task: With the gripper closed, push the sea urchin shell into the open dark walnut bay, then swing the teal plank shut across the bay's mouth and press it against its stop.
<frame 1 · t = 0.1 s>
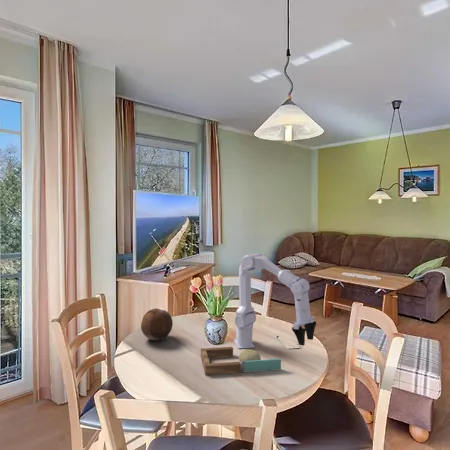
hand: (306, 342, 136), 10 cm above the table, tool pointing down, fingers open, 7 cm apart
smartphone: (288, 343, 161), on the table
wooden sphere: (156, 339, 160), on the table
bay: (221, 363, 137), on the table
teal plank: (260, 365, 132), point 2 cm above the table, hinge at -90.0°
sea urchin shell: (249, 362, 139), on the table
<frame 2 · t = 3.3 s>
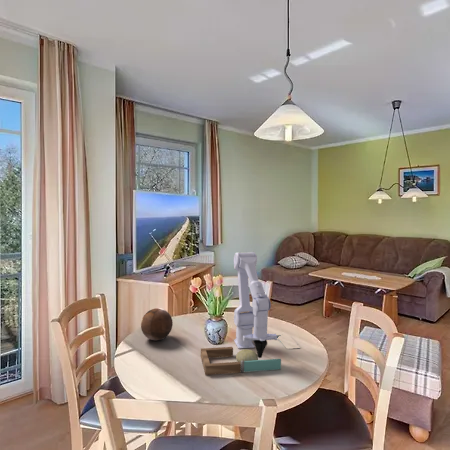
hand: (259, 356, 140), 2 cm above the table, tool pointing down, fingers closed
sea urchin shell: (247, 362, 139), on the table, touching gripper
everything else where it was.
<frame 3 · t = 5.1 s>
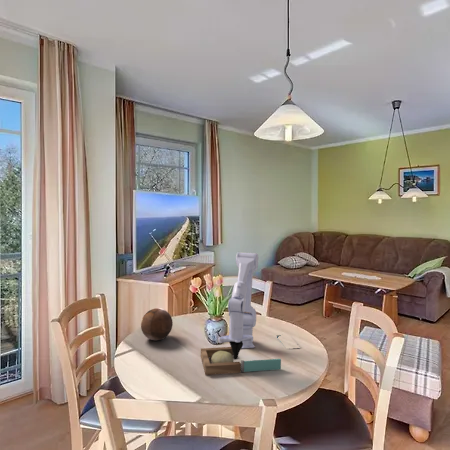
hand: (235, 358, 138), 2 cm above the table, tool pointing down, fingers closed
sea urchin shell: (222, 364, 137), on the table, touching gripper
everything else where it was.
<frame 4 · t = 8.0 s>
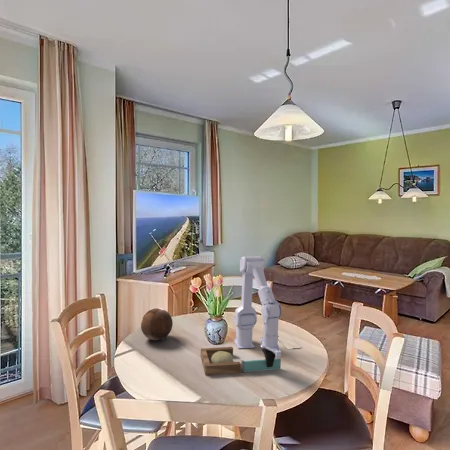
hand: (269, 366, 131), 2 cm above the table, tool pointing down, fingers closed
teal plank: (260, 364, 132), point 2 cm above the table, hinge at -88.7°, touching gripper
sea urchin shell: (222, 364, 137), on the table
everything else where it was.
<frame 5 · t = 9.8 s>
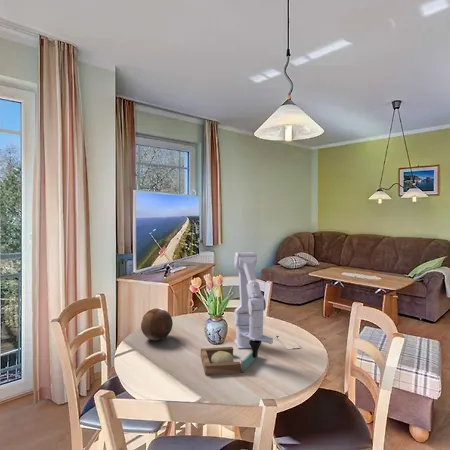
hand: (255, 356, 140), 2 cm above the table, tool pointing down, fingers closed
teal plank: (249, 358, 137), point 2 cm above the table, hinge at -37.8°, touching gripper
everything else where it was.
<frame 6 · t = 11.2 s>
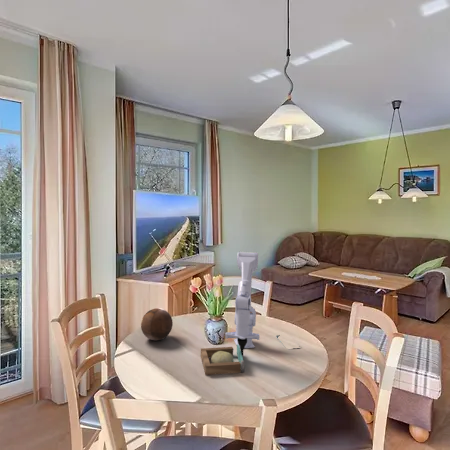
hand: (241, 354, 141), 2 cm above the table, tool pointing down, fingers closed, pressing on teal plank
teal plank: (240, 357, 138), point 2 cm above the table, hinge at -6.2°, touching gripper
everything else where it was.
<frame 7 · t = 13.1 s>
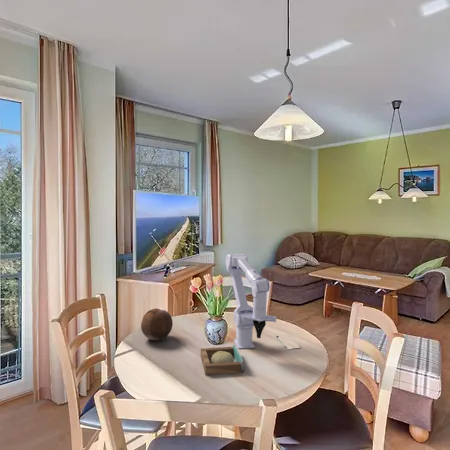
hand: (258, 337, 144), 9 cm above the table, tool pointing down, fingers closed
teal plank: (237, 357, 138), point 2 cm above the table, hinge at 0.6°
everything else where it was.
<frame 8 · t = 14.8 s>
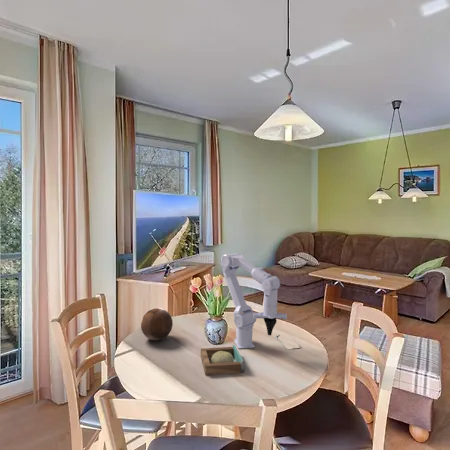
hand: (269, 334, 146), 9 cm above the table, tool pointing down, fingers closed
nothing on the table moved.
at the end: teal plank at +1° (first picture: -90°); sea urchin shell inside the target area on the bay (0.3 cm from its centre), point 0.0 cm above the bay's base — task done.
